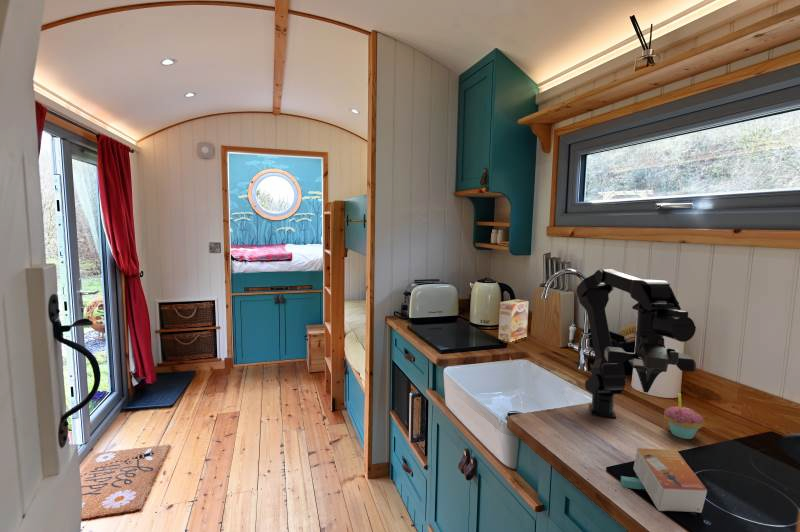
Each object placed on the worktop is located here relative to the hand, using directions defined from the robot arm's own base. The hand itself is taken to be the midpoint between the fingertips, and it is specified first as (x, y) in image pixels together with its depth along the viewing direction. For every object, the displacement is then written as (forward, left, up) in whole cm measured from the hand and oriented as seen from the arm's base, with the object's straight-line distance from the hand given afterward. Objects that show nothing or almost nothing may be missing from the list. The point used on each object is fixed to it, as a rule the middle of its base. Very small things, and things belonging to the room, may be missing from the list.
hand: (645, 391), depth 101 cm
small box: (+18, -2, -8) cm, 20 cm away
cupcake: (-8, +11, -13) cm, 19 cm away
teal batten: (+21, -2, -13) cm, 25 cm away
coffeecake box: (-86, -36, -13) cm, 94 cm away
